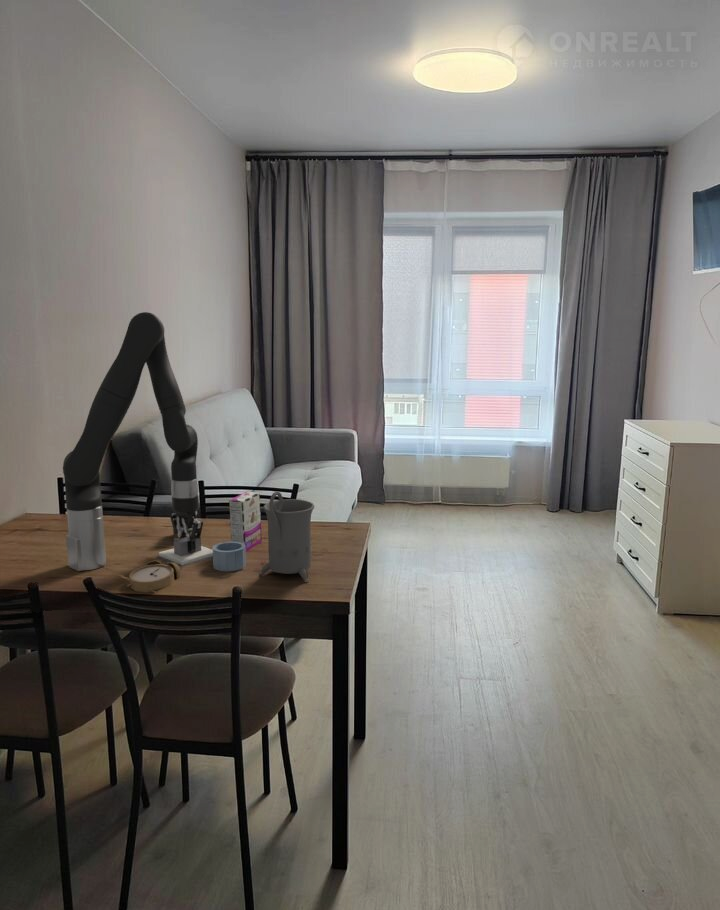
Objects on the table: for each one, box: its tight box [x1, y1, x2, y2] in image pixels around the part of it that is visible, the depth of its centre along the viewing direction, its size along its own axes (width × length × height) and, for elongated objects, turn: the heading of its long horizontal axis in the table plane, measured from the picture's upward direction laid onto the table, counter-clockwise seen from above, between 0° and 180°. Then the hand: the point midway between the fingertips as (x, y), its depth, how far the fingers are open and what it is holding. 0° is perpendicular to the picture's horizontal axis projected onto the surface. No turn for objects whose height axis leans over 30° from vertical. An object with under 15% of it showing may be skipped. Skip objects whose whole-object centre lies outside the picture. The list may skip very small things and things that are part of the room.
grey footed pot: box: [258, 490, 315, 583], centre depth 183 cm, size 19×15×25 cm
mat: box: [154, 554, 213, 568], centre depth 200 cm, size 14×14×1 cm
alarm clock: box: [126, 560, 182, 593], centre depth 180 cm, size 11×5×15 cm
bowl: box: [211, 540, 247, 573], centre depth 191 cm, size 9×9×6 cm
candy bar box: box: [228, 491, 263, 553], centre depth 207 cm, size 11×5×16 cm, turn 161°
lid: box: [158, 536, 213, 565], centre depth 199 cm, size 12×12×5 cm
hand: (187, 550), depth 199 cm, fingers closed on lid, 3 cm apart
